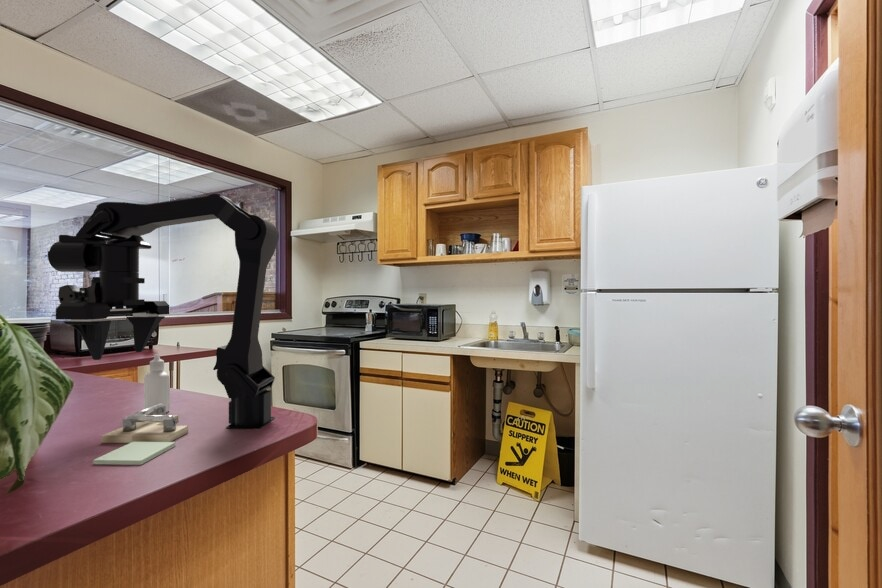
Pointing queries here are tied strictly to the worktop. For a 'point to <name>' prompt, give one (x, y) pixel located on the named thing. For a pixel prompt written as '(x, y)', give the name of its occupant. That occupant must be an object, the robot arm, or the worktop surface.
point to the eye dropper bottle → (157, 385)
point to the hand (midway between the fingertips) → (119, 355)
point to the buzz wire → (147, 427)
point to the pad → (135, 453)
